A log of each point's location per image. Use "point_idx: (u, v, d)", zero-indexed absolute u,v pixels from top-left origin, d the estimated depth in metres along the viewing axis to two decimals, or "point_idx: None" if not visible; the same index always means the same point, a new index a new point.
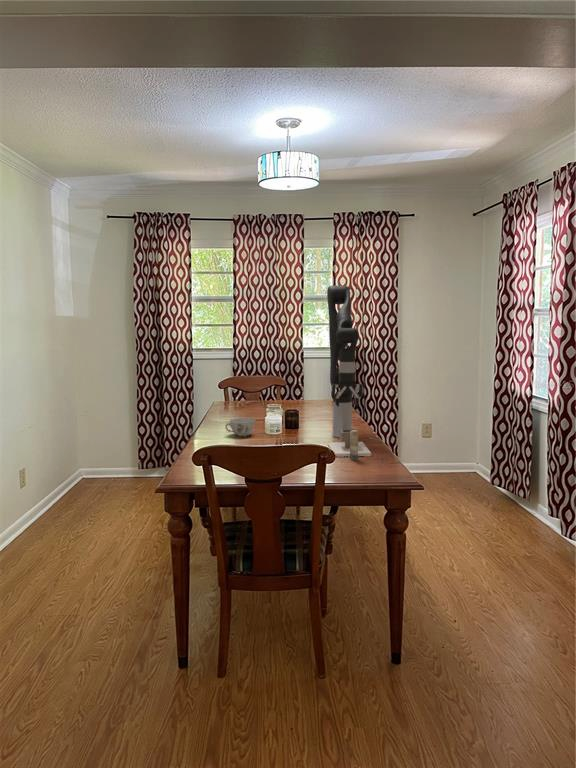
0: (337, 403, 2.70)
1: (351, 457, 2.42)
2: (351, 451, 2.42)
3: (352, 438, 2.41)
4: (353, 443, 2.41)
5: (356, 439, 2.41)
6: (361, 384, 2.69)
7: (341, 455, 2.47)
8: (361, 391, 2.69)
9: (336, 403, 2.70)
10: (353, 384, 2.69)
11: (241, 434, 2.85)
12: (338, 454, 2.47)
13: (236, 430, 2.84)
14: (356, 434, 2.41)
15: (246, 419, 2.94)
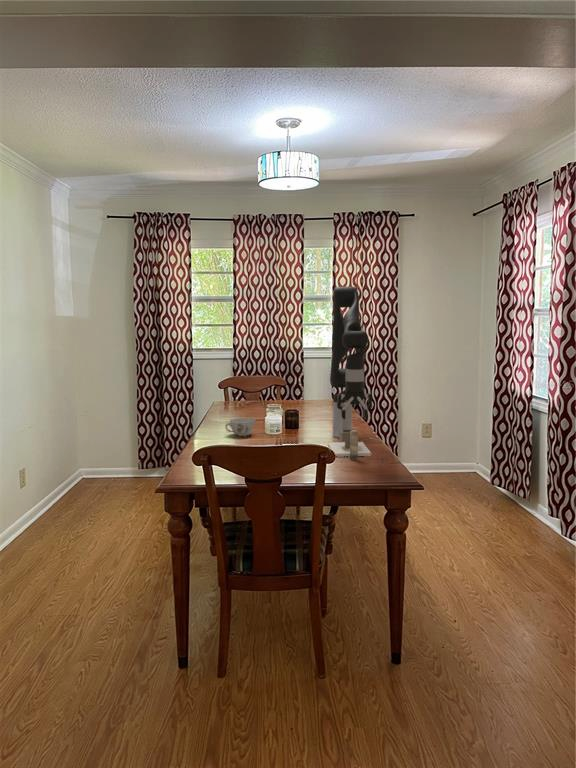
0: (343, 415, 2.40)
1: (351, 457, 2.42)
2: (351, 451, 2.42)
3: (352, 438, 2.41)
4: (353, 443, 2.41)
5: (356, 439, 2.41)
6: (370, 394, 2.39)
7: (341, 455, 2.47)
8: (370, 402, 2.39)
9: (342, 415, 2.40)
10: (361, 394, 2.39)
11: (241, 434, 2.85)
12: (338, 454, 2.47)
13: (236, 430, 2.84)
14: (356, 434, 2.41)
15: (246, 419, 2.94)
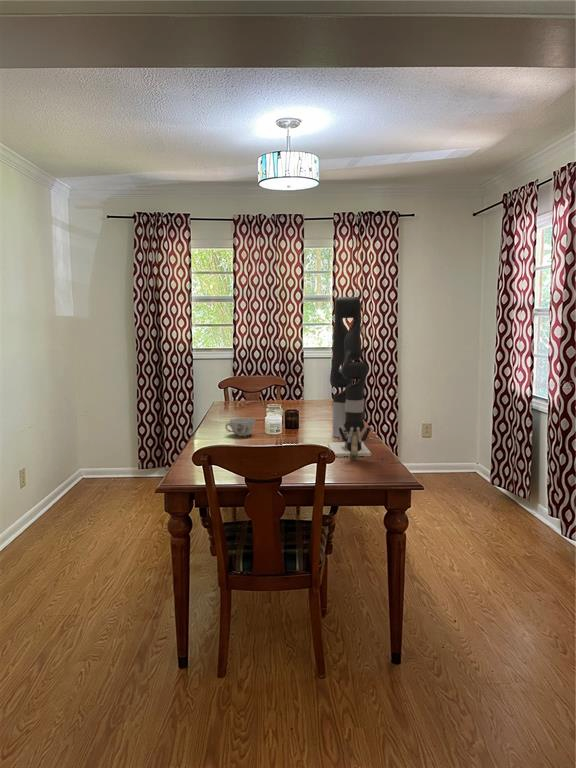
0: (349, 447, 2.42)
1: (351, 457, 2.42)
2: (351, 451, 2.42)
3: (352, 438, 2.41)
4: (353, 443, 2.41)
5: (356, 439, 2.41)
6: None
7: (341, 455, 2.47)
8: (366, 435, 2.41)
9: (347, 447, 2.42)
10: (362, 424, 2.41)
11: (241, 434, 2.85)
12: (338, 454, 2.47)
13: (236, 430, 2.84)
14: (356, 434, 2.41)
15: (246, 419, 2.94)
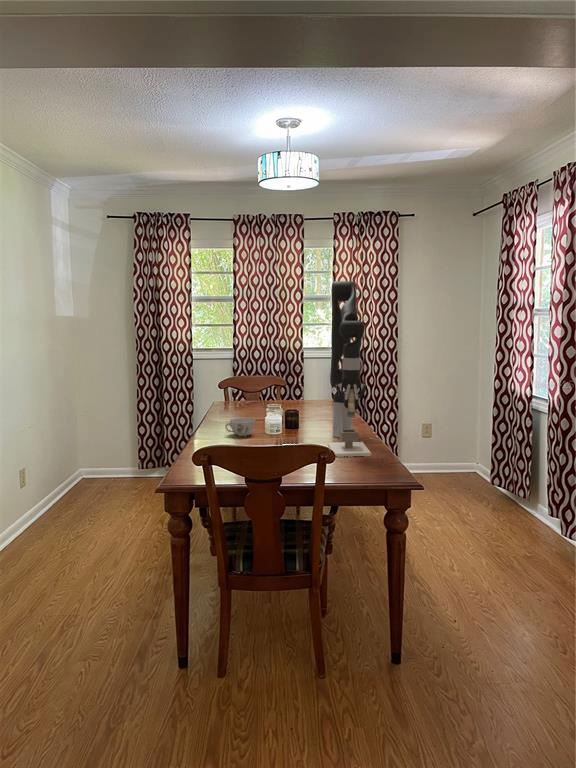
0: (346, 404, 2.49)
1: (348, 414, 2.50)
2: (348, 408, 2.49)
3: (349, 395, 2.48)
4: (350, 400, 2.48)
5: (353, 396, 2.48)
6: (366, 385, 2.48)
7: (341, 455, 2.47)
8: (363, 392, 2.48)
9: (345, 404, 2.49)
10: (358, 382, 2.48)
11: (241, 434, 2.85)
12: (338, 454, 2.47)
13: (236, 430, 2.84)
14: (353, 391, 2.48)
15: (246, 419, 2.94)
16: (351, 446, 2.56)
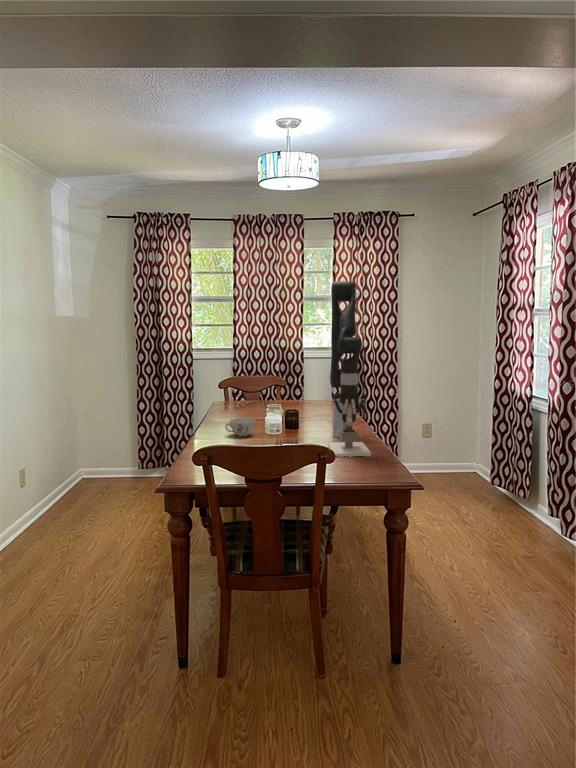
0: (344, 419, 2.55)
1: (346, 428, 2.55)
2: (346, 422, 2.55)
3: (347, 409, 2.54)
4: (348, 414, 2.54)
5: (351, 411, 2.54)
6: None
7: (341, 455, 2.47)
8: (360, 407, 2.54)
9: (343, 419, 2.55)
10: (356, 396, 2.53)
11: (241, 434, 2.85)
12: (338, 454, 2.47)
13: (236, 430, 2.84)
14: (351, 406, 2.53)
15: (246, 419, 2.94)
16: (351, 446, 2.56)
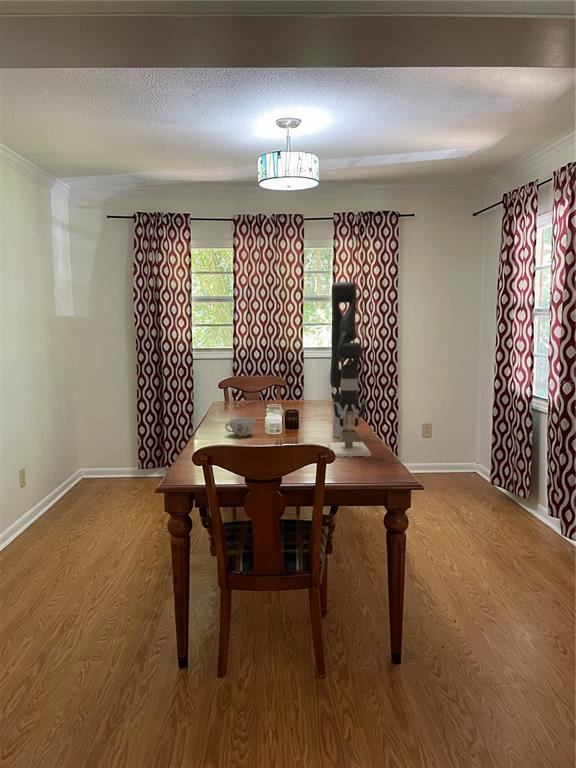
0: (341, 423, 2.55)
1: None
2: (346, 429, 2.55)
3: (347, 417, 2.54)
4: (349, 422, 2.54)
5: (351, 418, 2.54)
6: (364, 404, 2.54)
7: (341, 455, 2.47)
8: (362, 411, 2.54)
9: (340, 423, 2.55)
10: (356, 402, 2.54)
11: (241, 434, 2.85)
12: (338, 454, 2.47)
13: (236, 430, 2.84)
14: (351, 414, 2.53)
15: (246, 419, 2.94)
16: (351, 446, 2.56)
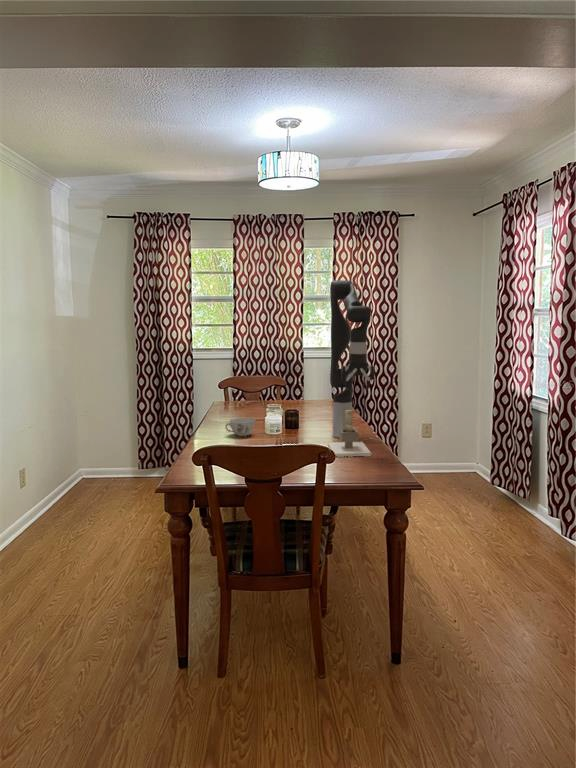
0: (347, 386, 2.54)
1: None
2: (346, 429, 2.55)
3: (347, 417, 2.54)
4: (348, 422, 2.54)
5: (351, 418, 2.54)
6: (373, 366, 2.53)
7: (341, 455, 2.47)
8: (373, 373, 2.54)
9: (346, 386, 2.54)
10: (364, 366, 2.53)
11: (241, 434, 2.85)
12: (338, 454, 2.47)
13: (236, 430, 2.84)
14: (351, 413, 2.54)
15: (246, 419, 2.94)
16: (351, 446, 2.56)
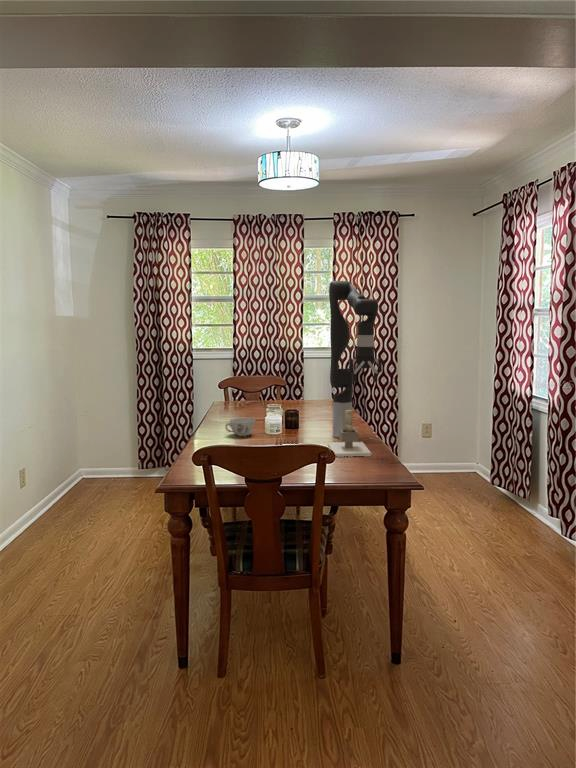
0: (355, 379, 2.56)
1: None
2: (346, 429, 2.55)
3: (347, 417, 2.54)
4: (348, 422, 2.54)
5: (351, 418, 2.54)
6: (380, 359, 2.55)
7: (341, 455, 2.47)
8: (380, 366, 2.55)
9: (354, 379, 2.56)
10: (372, 359, 2.54)
11: (241, 434, 2.85)
12: (338, 454, 2.47)
13: (236, 430, 2.84)
14: (351, 413, 2.54)
15: (246, 419, 2.94)
16: (351, 446, 2.56)
